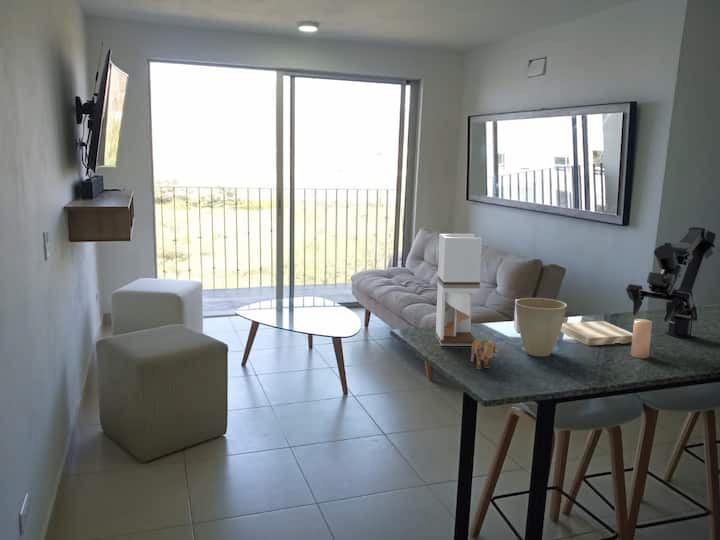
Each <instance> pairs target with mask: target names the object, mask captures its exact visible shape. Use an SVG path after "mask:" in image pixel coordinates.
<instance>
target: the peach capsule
mask: <svg viewBox="0 0 720 540" xmlns="http://www.w3.org/2000/svg"><path fill="white" fill-rule="evenodd" d="M652 326H653V321H652V320H649V319H645V318H635V319H633V328H632V333H633V335H632V343H631V346H630V356H631V355H632V357H633V356H634V357H633V358H637V357H638V358H637V359H648V358H649V357H650V356H649V355H650V348H651V347H650V346H651V338H652V329H653V327H652Z"/></svg>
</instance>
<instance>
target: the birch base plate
mask: <svg viewBox="0 0 720 540" xmlns="http://www.w3.org/2000/svg"><path fill="white" fill-rule="evenodd" d="M560 333H562V334H565V335H567V336H569V337H570V338H572V339H574V340H576V341H578V342H579V343H582V344H584V345H585V344H586V345H585V346H587V345H588V346H599V345H602V346H603V345H604V344H605V345H616V344H615V343H621V344H631V343H630V342H632V335H633V332H630V331H628V330H626V329H624V328H621V327H619V326H616V325H614V324H611V323H609V322H607V321H605V320H598V321H597V320H595V321H580V322H578V321H575V322H563V323H562V327H561V330H560Z"/></svg>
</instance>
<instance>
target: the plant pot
mask: <svg viewBox="0 0 720 540" xmlns="http://www.w3.org/2000/svg"><path fill="white" fill-rule="evenodd" d="M566 311H567V303H565V302H563V301H561V300H556V299H551V298H544V297H543V298H541V297H527V298H525V297H524V298H519V299H517V301H516V312H517V320H518V325H519V330H520V332H519V334H520V338H521V339H520V340H521V341H522V345H523V348H524V350H525V353H526V354H527V355H529V356H533V357H539V358H540V357H543V358H544V357H548V356H550V355H551V354H552V352H553V350H554V347H555V345H556V344H557V341H558V338H559V335H560V333H561V332H560V330H561V327H562V323H564V319H565V315H566Z"/></svg>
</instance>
